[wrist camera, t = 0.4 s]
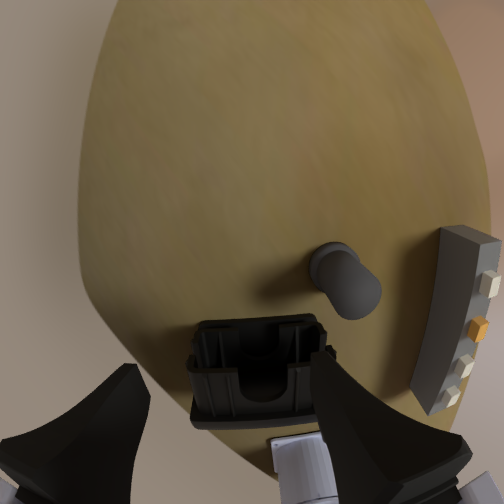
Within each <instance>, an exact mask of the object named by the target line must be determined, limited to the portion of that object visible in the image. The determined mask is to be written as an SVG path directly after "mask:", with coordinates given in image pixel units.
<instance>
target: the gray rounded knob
mask: <svg viewBox="0 0 504 504" xmlns="http://www.w3.org/2000/svg"><path fill="white" fill-rule="evenodd" d="M309 274H310V277H311V279H312V280H313V282H314V284H315V285H316V287H317V288H318V289H319V290H320V291H322V292H324V293H325V294H326V295H327V297H328V299H329V300H330V302H331V304H332V305H333V307H334V309H335V310H336V312H337V313H338V315H340V316H341V317H342V318H344V319H348V320H357V319H360V318H363V317H365V316H367V315H368V314H370V313H371V312H372V311H373V310H374V309H375V308H376V306H377V305H378V303H379V301H380V298H381V292H382V290H381V284H380V282H379V280H378V279H377V278H376V277H375V276H374V275H373V274H372V273H371V272H370V271H369V270H368V269H367V268H366V267H364V266H363V265H362V264H361V263H360V260H359V257H358V255H357V254H356V253H355V252H354V251H353V250H352V249H351V248H350V247H348V246H347V245H346V244H344V243H341V242H329V243H326V244H324V245H322V246H321V247H319V248H318V249H317V250H316V251H315V252H314V254H313V255H312V257H311V259H310V262H309Z"/></svg>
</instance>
